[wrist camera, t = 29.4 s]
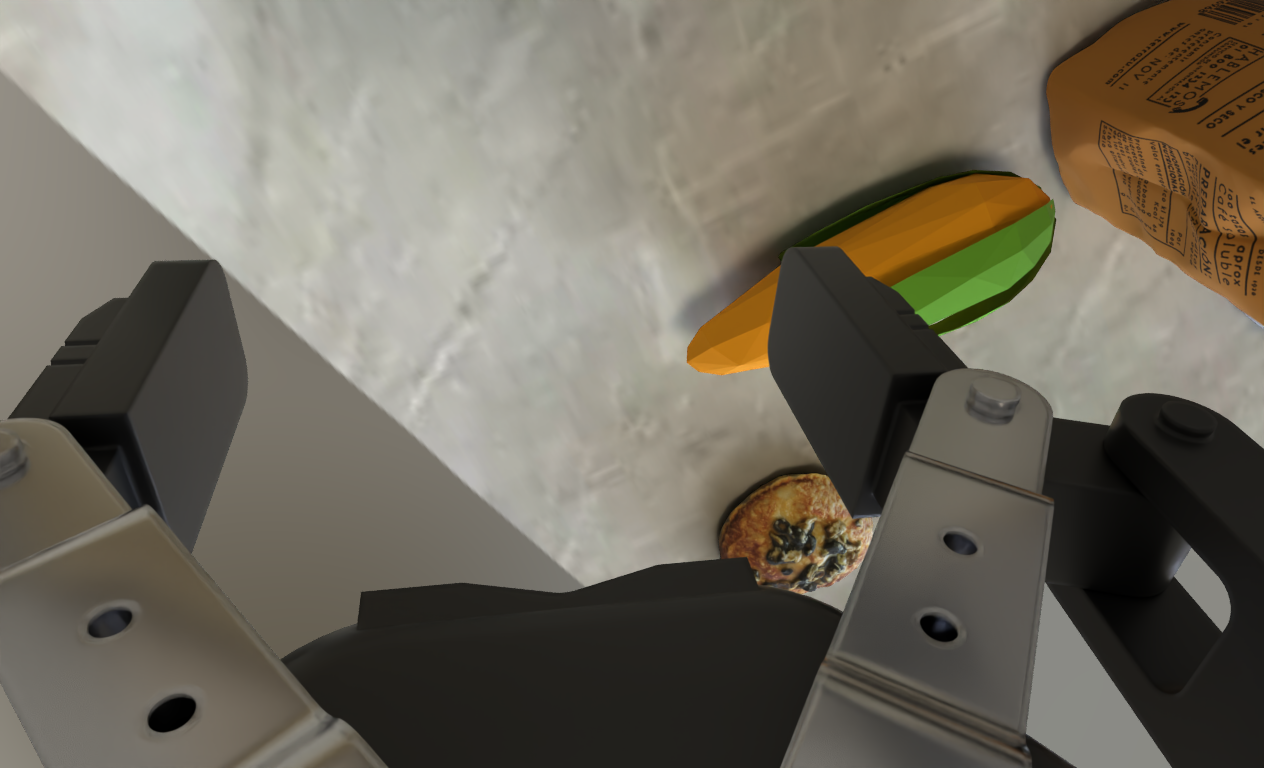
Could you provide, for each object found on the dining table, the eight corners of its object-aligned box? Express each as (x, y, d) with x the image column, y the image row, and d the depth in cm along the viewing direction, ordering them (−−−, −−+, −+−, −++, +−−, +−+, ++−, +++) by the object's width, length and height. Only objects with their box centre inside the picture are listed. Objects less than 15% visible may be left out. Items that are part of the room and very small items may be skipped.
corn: (1105, 300, 40) (731, 463, 42) (1020, 243, 47) (699, 387, 49) (1090, 165, 37) (679, 351, 38) (1000, 124, 43) (652, 284, 45)
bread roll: (699, 587, 59) (722, 637, 54) (728, 454, 54) (756, 497, 50) (838, 580, 62) (871, 627, 57) (877, 453, 57) (916, 494, 53)
